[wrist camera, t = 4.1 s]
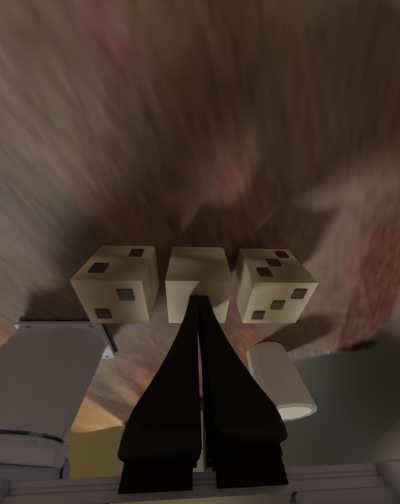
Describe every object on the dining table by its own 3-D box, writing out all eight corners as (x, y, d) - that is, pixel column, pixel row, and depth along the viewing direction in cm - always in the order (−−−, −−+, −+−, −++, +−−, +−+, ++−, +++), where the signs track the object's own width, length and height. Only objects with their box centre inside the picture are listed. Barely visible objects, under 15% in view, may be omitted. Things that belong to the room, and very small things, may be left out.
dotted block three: (231, 284, 17) (242, 324, 13) (239, 246, 15) (255, 281, 11) (273, 284, 17) (296, 324, 14) (287, 247, 15) (320, 282, 11)
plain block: (174, 283, 17) (169, 322, 13) (172, 246, 14) (165, 281, 11) (217, 283, 17) (224, 322, 13) (223, 247, 15) (233, 281, 11)
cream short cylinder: (256, 335, 22) (279, 402, 17) (297, 343, 24) (331, 407, 18) (234, 359, 26) (247, 421, 20) (271, 364, 27) (293, 424, 21)
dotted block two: (114, 283, 17) (90, 324, 13) (102, 243, 14) (67, 279, 10) (159, 283, 17) (149, 324, 13) (155, 244, 14) (140, 280, 10)
